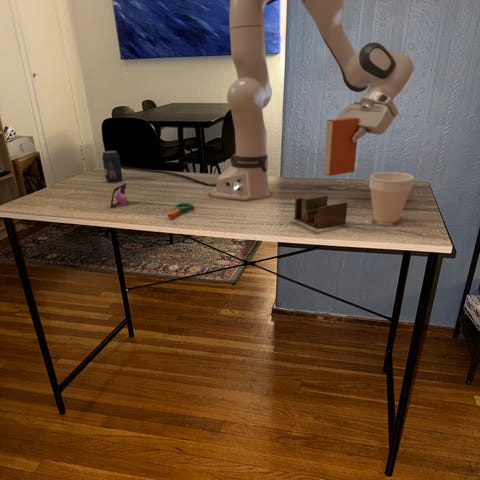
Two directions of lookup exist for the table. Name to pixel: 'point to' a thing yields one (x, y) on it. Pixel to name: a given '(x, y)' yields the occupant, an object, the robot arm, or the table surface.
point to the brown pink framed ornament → (119, 195)
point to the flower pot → (389, 194)
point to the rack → (319, 211)
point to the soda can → (112, 166)
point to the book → (340, 146)
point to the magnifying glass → (180, 209)
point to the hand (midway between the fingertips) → (347, 140)
